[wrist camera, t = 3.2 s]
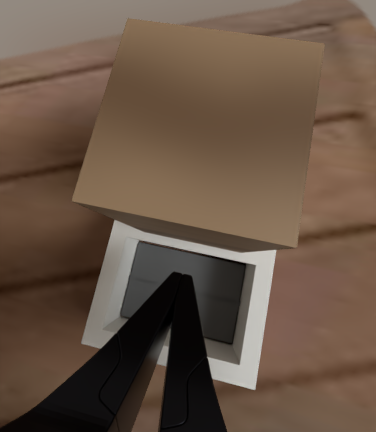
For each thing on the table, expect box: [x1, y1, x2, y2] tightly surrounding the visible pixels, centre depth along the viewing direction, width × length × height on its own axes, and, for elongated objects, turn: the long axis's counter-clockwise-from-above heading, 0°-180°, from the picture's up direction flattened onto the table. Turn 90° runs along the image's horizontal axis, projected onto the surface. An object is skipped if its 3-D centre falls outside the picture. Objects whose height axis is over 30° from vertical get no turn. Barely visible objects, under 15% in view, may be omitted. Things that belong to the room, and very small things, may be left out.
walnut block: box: [72, 19, 325, 253], centre depth 10 cm, size 6×6×8 cm
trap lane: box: [81, 220, 276, 390], centre depth 16 cm, size 22×10×3 cm, turn 168°
